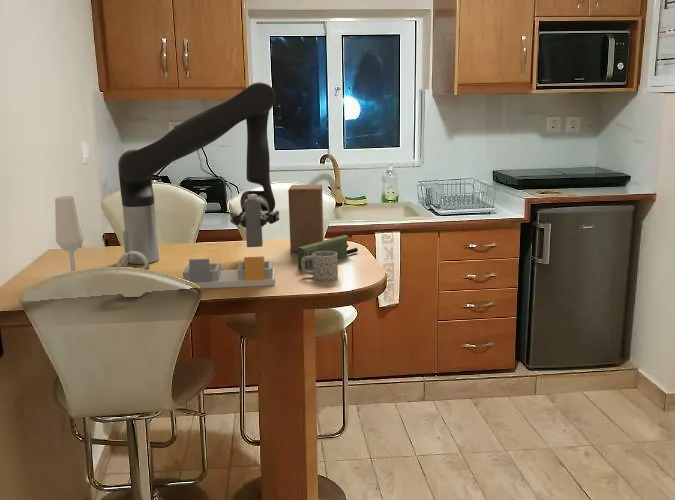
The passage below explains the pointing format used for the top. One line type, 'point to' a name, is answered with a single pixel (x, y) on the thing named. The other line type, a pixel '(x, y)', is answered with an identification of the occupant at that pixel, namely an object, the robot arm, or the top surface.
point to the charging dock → (230, 273)
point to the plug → (253, 221)
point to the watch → (126, 258)
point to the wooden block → (305, 215)
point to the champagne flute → (68, 226)
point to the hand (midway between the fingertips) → (253, 223)
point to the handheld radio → (325, 249)
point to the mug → (322, 265)
